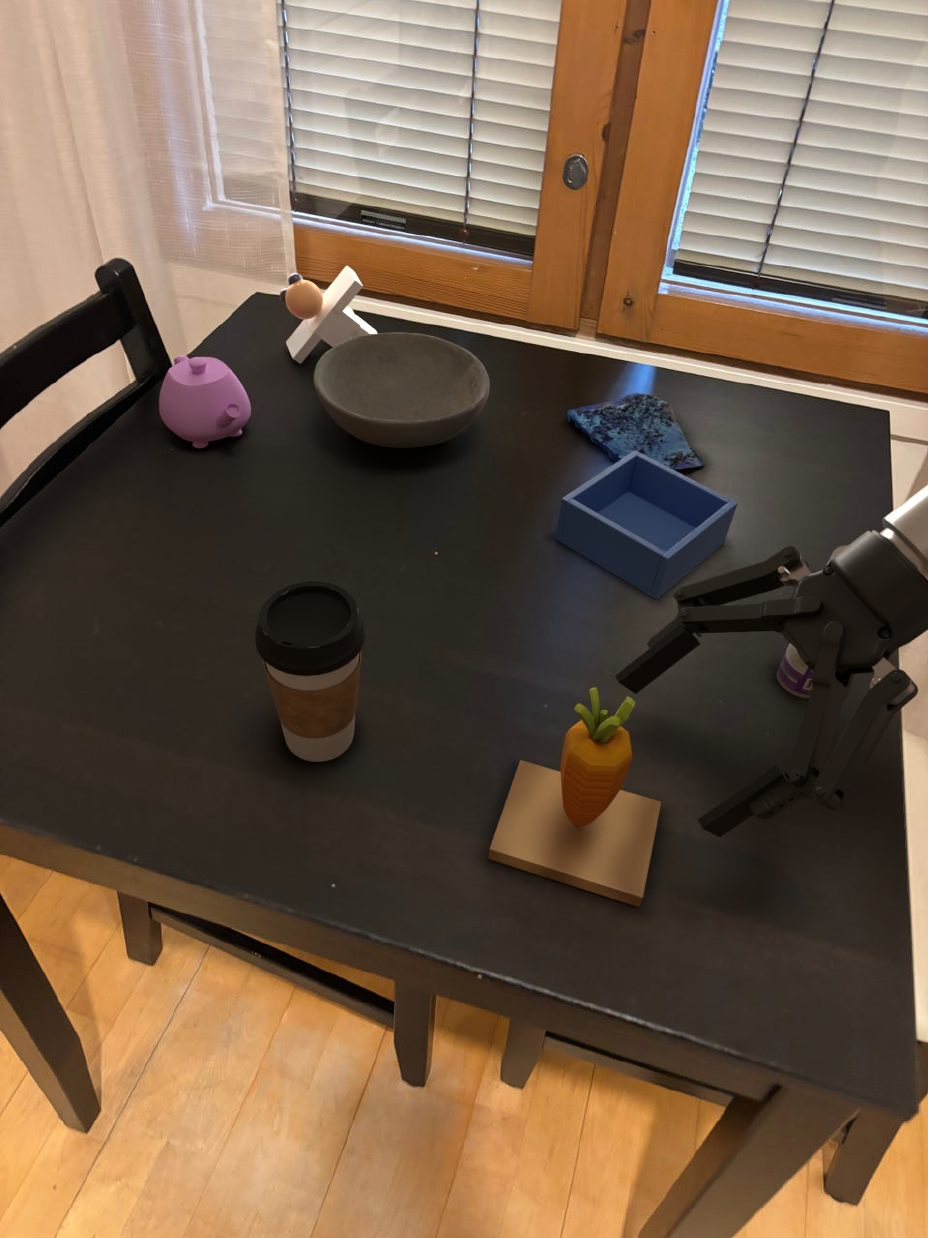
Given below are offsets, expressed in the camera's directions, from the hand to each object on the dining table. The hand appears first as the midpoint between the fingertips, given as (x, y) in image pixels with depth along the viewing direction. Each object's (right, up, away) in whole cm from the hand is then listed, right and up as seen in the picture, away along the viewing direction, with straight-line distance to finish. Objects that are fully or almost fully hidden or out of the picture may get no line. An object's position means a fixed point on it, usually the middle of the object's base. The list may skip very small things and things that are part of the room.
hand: (663, 752), depth 65 cm
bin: (+5, +19, +33) cm, 38 cm away
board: (-6, -8, +6) cm, 11 cm away
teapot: (-46, +33, +43) cm, 71 cm away
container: (+18, +4, +19) cm, 26 cm away
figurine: (-33, +48, +60) cm, 84 cm away
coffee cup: (-27, 0, +11) cm, 30 cm away
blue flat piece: (+8, +33, +48) cm, 59 cm away
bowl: (-23, +34, +46) cm, 62 cm away
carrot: (-6, -7, +5) cm, 10 cm away
